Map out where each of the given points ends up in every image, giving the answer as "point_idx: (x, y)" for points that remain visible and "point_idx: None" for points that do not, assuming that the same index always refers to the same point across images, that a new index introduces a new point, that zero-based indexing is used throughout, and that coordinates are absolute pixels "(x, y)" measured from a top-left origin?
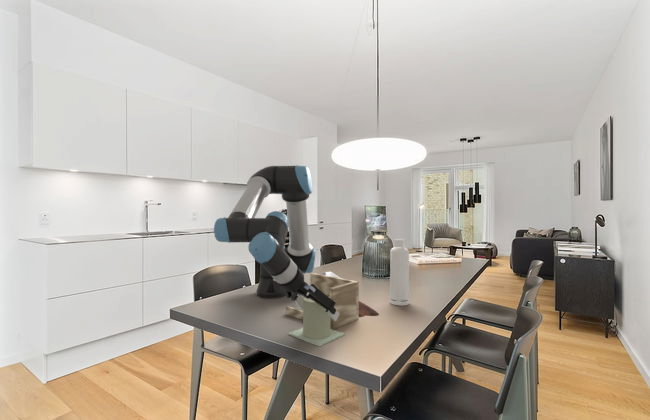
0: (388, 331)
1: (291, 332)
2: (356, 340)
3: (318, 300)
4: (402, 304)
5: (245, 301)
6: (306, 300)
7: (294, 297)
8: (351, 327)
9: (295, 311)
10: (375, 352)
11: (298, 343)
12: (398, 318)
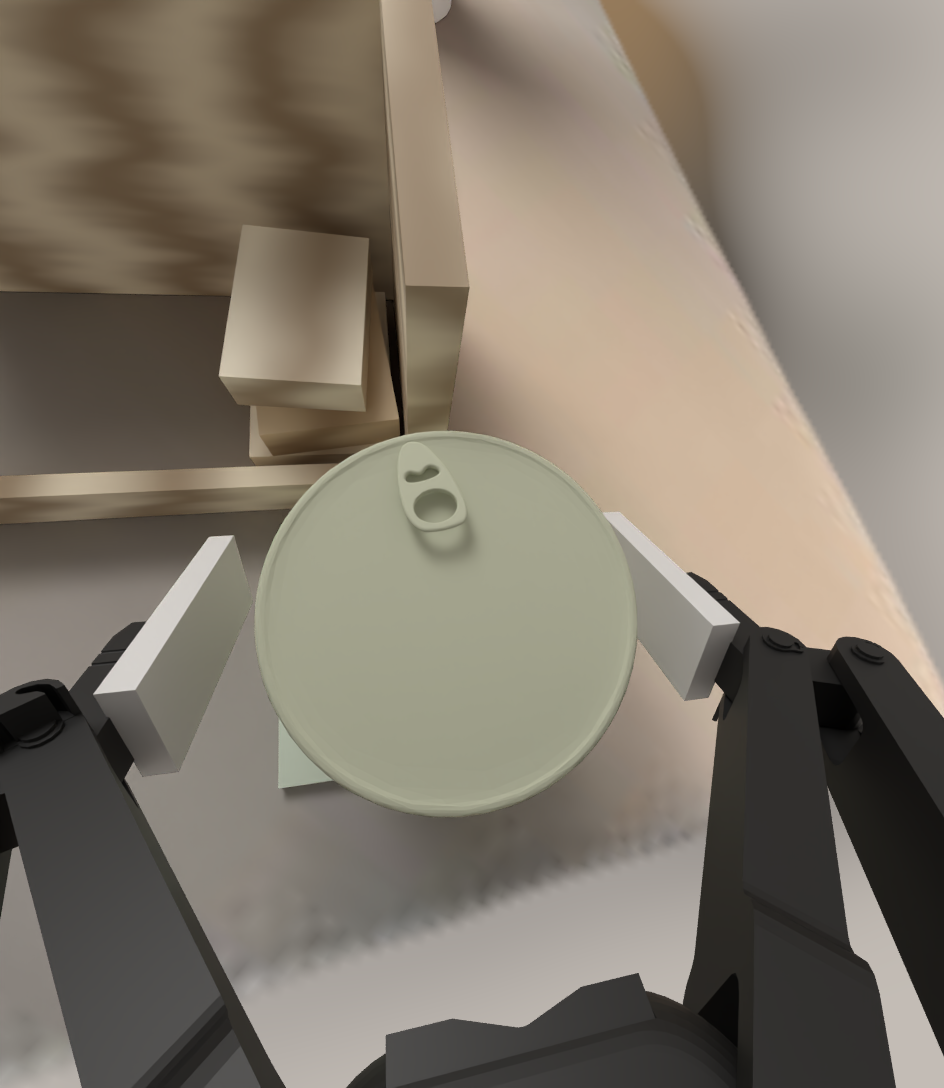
0: (642, 328)
1: (288, 763)
2: (634, 519)
3: (894, 921)
4: (441, 11)
5: None
6: (425, 780)
7: (176, 880)
8: (484, 403)
9: (6, 504)
10: (787, 561)
11: (456, 823)
12: (553, 171)
